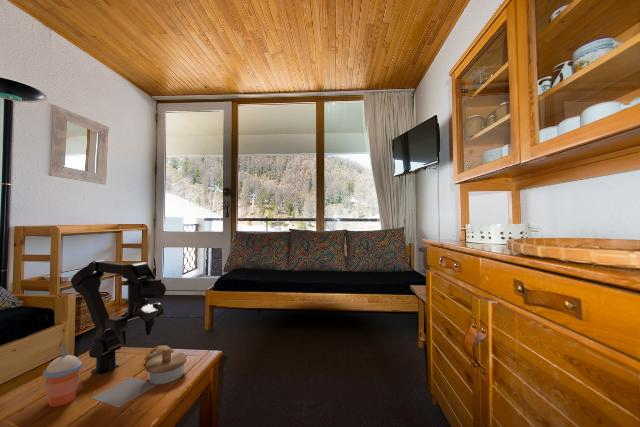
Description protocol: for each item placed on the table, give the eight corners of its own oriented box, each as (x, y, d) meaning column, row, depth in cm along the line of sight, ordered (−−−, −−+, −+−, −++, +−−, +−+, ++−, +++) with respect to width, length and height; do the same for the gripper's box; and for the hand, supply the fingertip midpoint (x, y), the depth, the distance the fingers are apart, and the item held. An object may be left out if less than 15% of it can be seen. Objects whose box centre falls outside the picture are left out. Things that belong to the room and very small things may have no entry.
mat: (90, 399, 90) (90, 397, 90) (131, 378, 102) (131, 377, 102) (118, 409, 85) (118, 407, 85) (157, 385, 97) (157, 384, 97)
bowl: (141, 381, 100) (141, 368, 100) (168, 366, 110) (168, 354, 110) (163, 387, 96) (164, 374, 96) (190, 371, 106) (190, 359, 106)
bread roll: (156, 378, 108) (164, 360, 108) (136, 364, 110) (143, 346, 110) (174, 365, 118) (182, 348, 117) (155, 353, 120) (162, 336, 119)
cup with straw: (62, 392, 93) (63, 337, 94) (88, 392, 93) (90, 337, 94) (33, 410, 84) (34, 349, 85) (62, 411, 84) (64, 349, 85)
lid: (136, 369, 99) (137, 353, 99) (169, 353, 111) (169, 339, 112) (163, 376, 94) (163, 360, 95) (194, 358, 106) (194, 344, 107)
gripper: (126, 306, 94) (125, 354, 93) (174, 293, 111) (173, 333, 111) (104, 302, 98) (103, 348, 97) (154, 290, 115) (153, 329, 115)
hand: (136, 339), depth 105 cm, fingers open, 9 cm apart
